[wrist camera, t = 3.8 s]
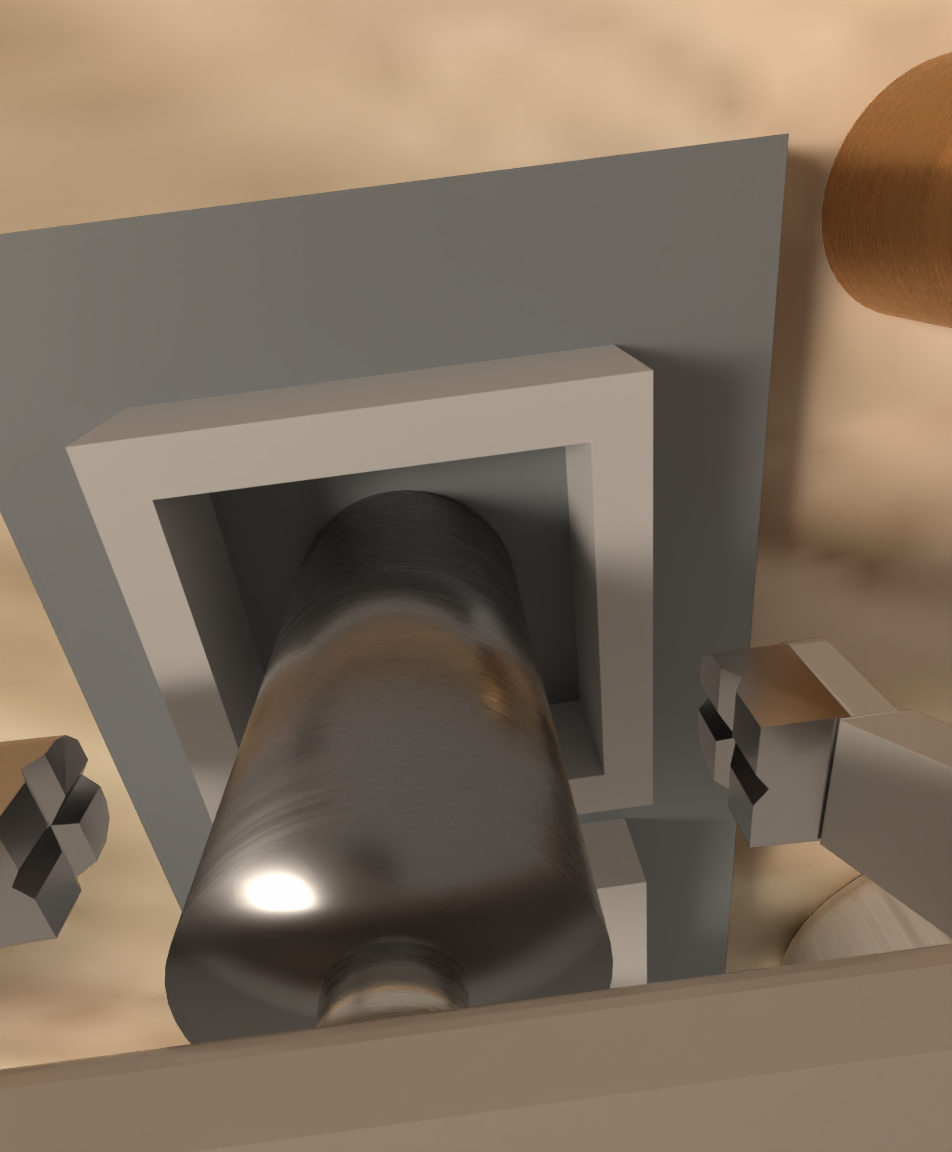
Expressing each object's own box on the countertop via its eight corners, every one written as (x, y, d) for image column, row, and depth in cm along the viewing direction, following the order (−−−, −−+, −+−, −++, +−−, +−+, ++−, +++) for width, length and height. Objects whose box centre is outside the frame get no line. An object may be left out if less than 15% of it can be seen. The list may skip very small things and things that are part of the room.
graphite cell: (278, 506, 11) (56, 945, 4) (503, 475, 11) (627, 866, 4) (326, 690, 13) (218, 1218, 6) (523, 663, 13) (634, 1158, 6)
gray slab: (-64, 246, 10) (-249, 256, 7) (751, 142, 10) (875, 112, 8) (289, 1084, 20) (268, 1226, 17) (702, 1026, 20) (747, 1157, 18)
